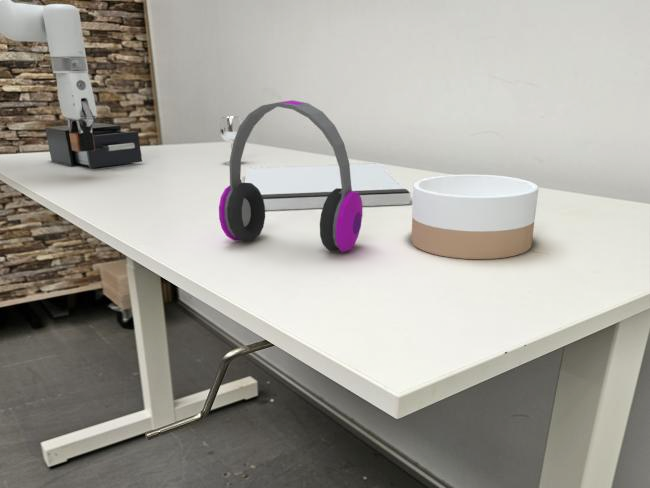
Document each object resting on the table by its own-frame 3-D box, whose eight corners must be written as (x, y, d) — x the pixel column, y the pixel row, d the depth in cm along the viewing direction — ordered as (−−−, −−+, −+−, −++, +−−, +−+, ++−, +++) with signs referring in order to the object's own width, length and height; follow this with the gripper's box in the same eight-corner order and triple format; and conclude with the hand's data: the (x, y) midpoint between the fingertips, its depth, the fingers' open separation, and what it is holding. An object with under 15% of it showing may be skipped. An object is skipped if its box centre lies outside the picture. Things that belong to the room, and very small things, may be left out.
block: (78, 151, 141) (75, 134, 140) (72, 150, 144) (68, 132, 142) (95, 150, 144) (92, 132, 142) (88, 148, 147) (85, 131, 145)
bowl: (533, 263, 79) (541, 199, 75) (402, 255, 83) (404, 194, 80) (530, 230, 94) (536, 175, 91) (419, 225, 98) (421, 172, 95)
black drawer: (150, 163, 162) (146, 132, 159) (98, 169, 153) (93, 137, 150) (120, 157, 174) (115, 128, 171) (70, 163, 165) (64, 133, 162)
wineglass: (220, 163, 164) (216, 117, 159) (241, 161, 166) (237, 115, 161) (226, 166, 159) (222, 118, 154) (247, 164, 161) (244, 117, 156)
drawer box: (125, 160, 173) (120, 125, 170) (71, 167, 164) (64, 130, 160) (103, 156, 183) (98, 122, 179) (51, 162, 174) (44, 127, 170)
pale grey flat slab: (410, 191, 111) (241, 198, 109) (410, 204, 112) (242, 211, 110) (378, 162, 143) (246, 167, 141) (378, 173, 144) (247, 178, 142)
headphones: (215, 247, 89) (201, 103, 81) (246, 232, 97) (236, 99, 89) (346, 261, 81) (344, 103, 74) (368, 244, 89) (369, 99, 81)
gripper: (101, 66, 133) (114, 151, 141) (71, 65, 144) (84, 145, 152) (67, 66, 129) (82, 155, 136) (39, 66, 140) (54, 147, 147)
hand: (83, 148), depth 144 cm, fingers closed on block, 4 cm apart
